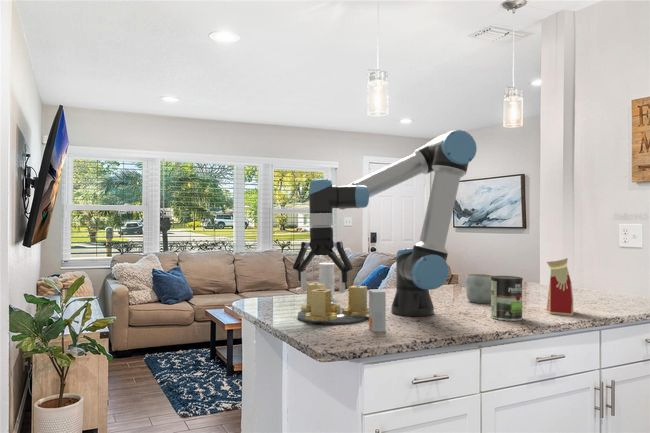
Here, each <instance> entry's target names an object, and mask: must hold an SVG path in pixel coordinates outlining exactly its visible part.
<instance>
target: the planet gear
mask: <svg viewBox="0 0 650 433" xmlns="http://www.w3.org/2000/svg"><path fill="white" fill-rule="evenodd" d="M331 302H332V300H331V290H325V289H316V290H312V291H311V313H305V319H308V320H313V321H329V320H336V319H337V313H331Z"/></svg>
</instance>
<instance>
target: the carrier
mask: <svg viewBox="0 0 650 433" xmlns="http://www.w3.org/2000/svg"><path fill="white" fill-rule="evenodd" d="M316 289H325V284H319V282H313V283H307V291H306V304H302V305H301V307H300V311H298V312H297V319H298V320H299V321H301V322H304V323H308V324H309V323H310V324H313V325H315V324H316V325H325V326H326V325H330V326H332V325H333V326H334V325H335V326H336V325H337V326H338V325H352V324H355V323H360V322H363V321H365V320H366V316H369V307H368V286H367V285H360V284H356V285H350V286H349V287H348V304H347V306H348V307H341V304H340V303H335V302H333V301H331V313H337V319H336V320H329V321H313V320H308V319H305V313H311V291H312V290H316Z"/></svg>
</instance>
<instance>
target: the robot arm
mask: <svg viewBox="0 0 650 433" xmlns="http://www.w3.org/2000/svg"><path fill="white" fill-rule="evenodd" d="M477 147H478V146H477V142H476V140H475V139H474V137H473V136H472V135H471V133H469V132H467V131H465V130H462V129H455V130H449V131H447V132H446V133H444V134H442V135H441V134H440V135H439V136H437V137H435V138H433V139H432V140H431V141H428V142H427V143H426V144H425V145H423V146H421V147H419V148H417V149H414V150H413V153H412V154H410V155H409V156H406V157H404V158H402V159H400V160H398V161H395V162H394V163H390V164H389V165H386V166H384V167H383V168H380V169H378V170H377V171H374V172H371V173H370V174H367V175H365V176H363V177H361V178H359V179H356V180H354V181H352V182H351V183H347V184H346V185H333V182H332V180H331V179H328V178H323V179H322V178H319V179H318V178H317V179H311V180H310V182H309V183H308V184H309V186H308V188H309V190H308V197H309V198H308V200H309V202H308V204H309V226H310V228H309V238H310V239H309V240H310V241H309V242H308V241H307V240H306V241H301V242H300V244H301V245H300V250H299V252H298V254H297V256H296V259H295V261H294V264H293V266H292V269H293V270H295V271H297V272H298V273H297V274H298V282H300V292H301V293H302V292H303V293H304V292H307V285H308V283H307V270H305V269H306V268H307V266H308V265H309V264H310V263H311V261H312V260H313V259H314V257H315V256H328V257H329V258H330V259H331V261H332V263H335V265H336V266H337V268H338V269H339V270H340V272H339V273H338V277H339V278H338V279H339V282H338V283H339V284H338V285H339V286H338V287H339V288H338V289H339V290H338V291H339V294H344V293H345V292H346V290H345V289H346V288H345V286H346V285H345V283H348V272H350V271H351V270H353V265H352V264H351V262H350V259H349V257H348V255H347V253H346V251H345V249H344V244H343V241H342V240H341V241H335V242H334V228H333V227H332V226H333V225H334V224H333V223H334V222H333V221H334V220H333V209H338V210H339V209H340V210H346V209H361V208H364V209H365V208H367V207H368V205H369V203H370V198H372V197H374V196H376V195H378V194H380V193H382V192H385V191H387V190H389V189H391V188H393V187H395V186H397V185H399V184H402V183H404V182H406V181H409V180H411V179H413V178H415V177H417V176H419V175H421V174H423V175H428V174H430V173H432V172H434V176H433V181H432V186H431V190H430V193H429V197H428V201H427V205H426V206H427V207H426V211H425V214H424V215H425V216H424V220H423V224H422V227H421V233H420V236H419V237H420V238H419V241H418V242H416V243H415V244H413V247H410V248H400V249H397V251H396V257H395V261H396V264H395V265H396V266H395V267H396V269H395V270H396V271H395V272H396V273H395V274H396V276H395V278H396V282H395V283H396V289H395V290H396V291H395V294H394V298H393V300H392V303H391V313H392V314H394V315H399V316H407V317H424V316H431V315H433V314H434V313H435V306H434V304H433V301H432V298H431V294H430V291H432V290H437V289H438V288H441V287H442V286H443V285H444V284H445V283H446V281H447V279H448V278H449V274H450V270H449V265H448V262H447V259H448V256H449V252H448V250H447V248H446V242H447V238H448V233H449V230H450V225H451V220H452V215H453V211H454V207H455V203H456V199H457V195H458V190H459V185H460V183H461V182H460V180H461V178H463V177H464V176H465V175H466V174H467V171H468V168H469V163H470V162H472V161H473V159H474V158H475V157H476V154H477V150H478V149H477ZM334 247H335V249H336V250H337V253H338V255H339V256H340V258H339V256H337V254H336V252H335V251H334V250H333V249H334ZM309 248H310V249H311V250H310V251H309V253H308V255H307V256H306V257H305V255H306V253H307V250H308V249H309ZM304 257H305V258H304Z"/></svg>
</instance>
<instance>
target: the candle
mask: <svg viewBox="0 0 650 433" xmlns="http://www.w3.org/2000/svg"><path fill="white" fill-rule="evenodd" d="M335 265H336V264H335V263H334V262H320V263H318V267H319V270H318V272H319V273H318V274H319V276H318V284H325V290H331V301H332V300H334V297H333V295H335V286H336V285H335V284H336V282H335V280H336V279H335V278H336V276H335Z"/></svg>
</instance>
